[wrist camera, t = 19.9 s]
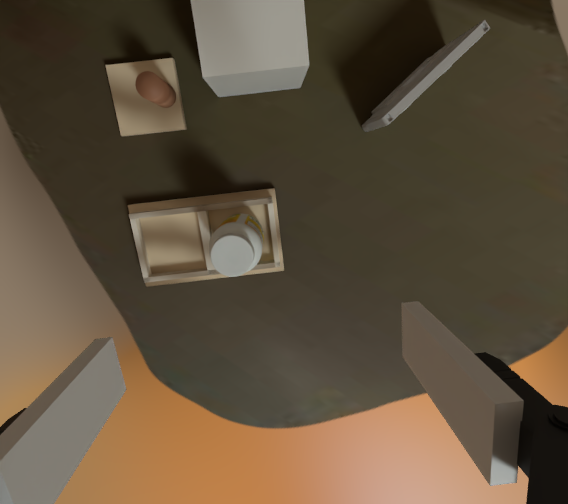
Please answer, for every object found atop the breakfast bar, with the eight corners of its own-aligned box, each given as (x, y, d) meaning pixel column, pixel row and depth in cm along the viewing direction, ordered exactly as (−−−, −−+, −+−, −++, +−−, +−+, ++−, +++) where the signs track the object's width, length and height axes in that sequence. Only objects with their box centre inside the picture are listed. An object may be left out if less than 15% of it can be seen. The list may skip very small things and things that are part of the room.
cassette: (367, 136, 39) (390, 130, 32) (357, 123, 39) (377, 114, 31) (451, 56, 37) (496, 30, 30) (441, 42, 37) (484, 12, 29)
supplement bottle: (267, 217, 40) (267, 234, 31) (259, 260, 41) (256, 288, 32) (222, 208, 39) (207, 222, 30) (215, 252, 41) (198, 278, 32)
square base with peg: (108, 67, 36) (79, 49, 30) (174, 59, 36) (157, 41, 30) (124, 136, 38) (98, 131, 32) (186, 129, 38) (172, 123, 32)
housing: (204, 2, 35) (182, -51, 26) (291, -7, 35) (298, -64, 26) (218, 97, 37) (202, 77, 28) (300, 87, 37) (309, 65, 29)
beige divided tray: (130, 204, 40) (123, 206, 38) (274, 188, 40) (274, 189, 38) (148, 284, 42) (142, 290, 40) (283, 268, 42) (284, 273, 41)
